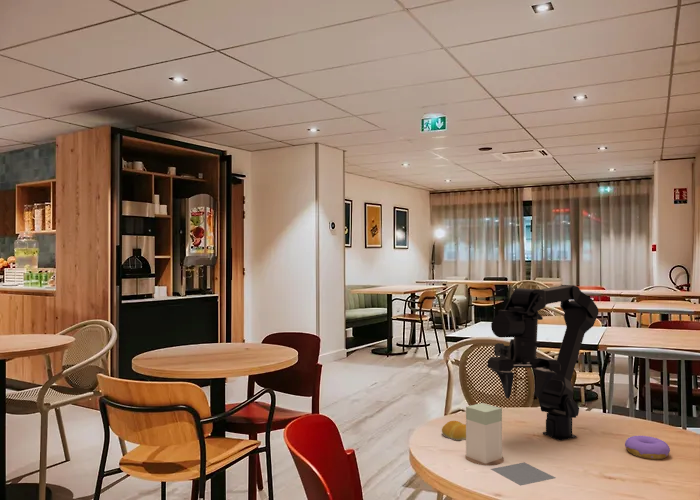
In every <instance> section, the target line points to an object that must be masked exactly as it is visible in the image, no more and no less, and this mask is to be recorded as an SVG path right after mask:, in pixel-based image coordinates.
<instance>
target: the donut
mask: <svg viewBox="0 0 700 500" xmlns="http://www.w3.org/2000/svg"><path fill="white" fill-rule="evenodd" d="M624 447H625V449H626V450H627V451H628V452H629V453H630V454H631V455H633V456H636V457H638V458H642V459H647V460H662V459H665V458H667V457H668V456H669V455H670V453H671V452H670V451H671V448H670V446H669V445H668V443H666V441H664V440H662V439H659V438H657V437H654V436H648V435H633V436H630V437H628V438H627V439H626V440H625V442H624Z"/></svg>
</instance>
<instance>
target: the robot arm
mask: <svg viewBox="0 0 700 500" xmlns="http://www.w3.org/2000/svg"><path fill="white" fill-rule="evenodd" d="M554 303H560V308H561V309H562V311H563V314H564V315H563V319H564V323H565V327H566V328H565V331H564V335H563V337H562V341H561V345H560V347H559V351H558V354H557V358H556V359H555V358H550V357H545V356H543V357H542V356H541V357H537V347H541V342H539V341H538V325H539V324H538V323H539V322H538V321H542V320H543V316H542V315H541V314H540V312H539V311H541V310H543V309H545V308H546V306H547V305H549V304H554ZM599 312H600V311H599V308H598V306H597V305H596V302H595V301H594V300H593V298H592V297H590V296H588V295H587V294H586V293H584V292H583V291H582V290H581V289H580V288H579V286H576V285H575V284H574V285H573V284H572V285H571V284H561V285H558V286H553V287H546V288H542V289H541V288H540V289H539V288H525V287H518V288H517V287H516V288H515V289H513V293H512V294H511V295H510V297H509V299H508V301H507V302H506V305H505V306H504V308H503V309H498V314H496V315H495V316H494V317H493V319H492V322H491V325H490V327H491V331H492V333H493V335H495V336H496V337H497V338H511V339H510V341H509V344H508V345H505V344H504V343H502V342H501V343H495V344H494V348H493V351H494V352H493V353H494V356H490V357H489V358H488V360H487V367H486V368H488V369H491V371H492V372H493V373H494V372H495V373H496V375H497V376H498V377H499V380H500V383H501V386H502V389H503V392H504V397H505V398H506V399H510V397H511V395H512V391H513V390H512V389H513V382H514V377H515V373H514V372H513V370H514V369H515V368H517V369H521V368H526V369H527V368H530V369H532V370H533V372H534V374H535V391H534V392H535V398H537V399H538V403H539V408H540V411H541V412H543V413H546V419H545V431H543V432H542V435H545V436H546V437H549V438H552V439H555V440H557V441H564V440H572V439H577V438H578V435H576V434H573V419H575V418H577V417H578V416H579V412H580V406H578V404H577V402H576V401H575V400H574V395H575V393H574V388H573V384H572V378H573V374H574V371H575V369H576V364H577V361H578V357H579V355H580V350H581V347H582V345H583V344H582V343H583V340H584V337H585V334H586V333H587V332H588V331H589V330H591V328H593V327H594V326H595V323H596V320H597V318H598V316H599ZM512 338H513V339H512Z"/></svg>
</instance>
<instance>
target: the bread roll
mask: <svg viewBox="0 0 700 500" xmlns="http://www.w3.org/2000/svg"><path fill="white" fill-rule="evenodd" d="M441 432H442V435H443V436H444V437H445V438H447V439H451V440H453V441H456V442H461V441H466V423H462V422H460V421H457V420H449V421H448V422H446V423H445V424H444V425H443V426H442V427H441Z"/></svg>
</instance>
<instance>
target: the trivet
mask: <svg viewBox="0 0 700 500" xmlns="http://www.w3.org/2000/svg"><path fill="white" fill-rule="evenodd" d="M465 459H466V461H468V462H469V463H472V464H475V465H478V466H499V465H502V463H504V460H505V459H504V457H503V456H502V458H501V459H498V460H495V461H492V462H489V463H486V464H485V463H482V462H480V461H477V460H475V459H472V458H469V457H467V456H466V455H465Z"/></svg>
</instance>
